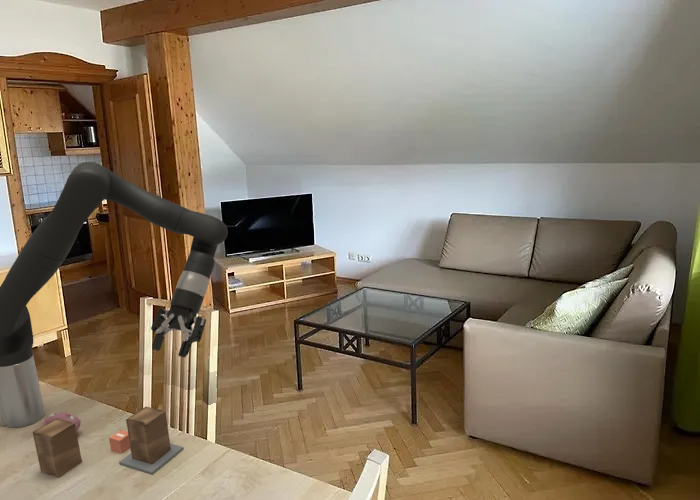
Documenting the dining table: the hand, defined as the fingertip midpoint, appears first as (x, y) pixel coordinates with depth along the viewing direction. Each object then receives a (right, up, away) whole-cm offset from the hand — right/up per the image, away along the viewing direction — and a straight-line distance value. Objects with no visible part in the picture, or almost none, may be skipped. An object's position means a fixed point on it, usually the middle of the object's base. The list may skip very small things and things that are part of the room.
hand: (168, 353), depth 137 cm
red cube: (-9, -22, -5) cm, 24 cm away
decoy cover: (-21, -24, -12) cm, 33 cm away
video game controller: (-27, -21, 0) cm, 34 cm away
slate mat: (-1, -22, -9) cm, 24 cm away
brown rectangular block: (-1, -22, -9) cm, 24 cm away
